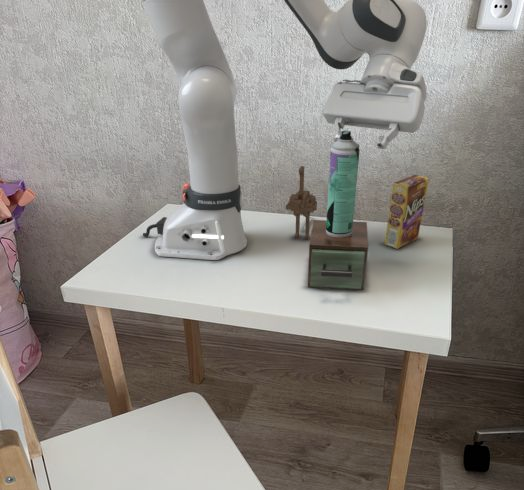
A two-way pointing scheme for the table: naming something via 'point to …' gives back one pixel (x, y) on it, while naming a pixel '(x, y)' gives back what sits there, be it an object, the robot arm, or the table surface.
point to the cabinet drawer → (337, 268)
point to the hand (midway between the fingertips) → (358, 144)
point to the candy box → (406, 211)
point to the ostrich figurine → (302, 205)
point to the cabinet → (338, 244)
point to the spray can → (342, 186)
